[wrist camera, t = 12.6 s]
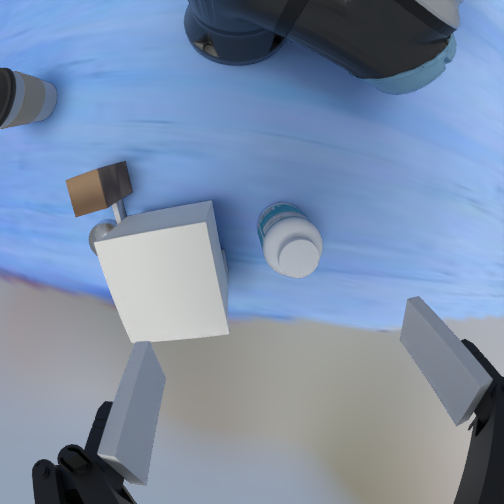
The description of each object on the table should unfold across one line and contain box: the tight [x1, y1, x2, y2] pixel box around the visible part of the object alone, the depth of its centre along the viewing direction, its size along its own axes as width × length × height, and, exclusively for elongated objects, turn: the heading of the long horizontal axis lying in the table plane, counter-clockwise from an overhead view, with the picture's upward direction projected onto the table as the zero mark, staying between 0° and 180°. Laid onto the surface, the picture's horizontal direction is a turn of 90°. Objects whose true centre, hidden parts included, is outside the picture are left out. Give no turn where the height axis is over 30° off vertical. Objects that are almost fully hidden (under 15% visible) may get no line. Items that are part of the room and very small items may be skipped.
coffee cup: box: [0, 68, 57, 129], centre depth 26 cm, size 9×9×15 cm
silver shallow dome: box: [89, 220, 117, 256], centre depth 42 cm, size 6×6×2 cm
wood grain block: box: [66, 161, 133, 225], centre depth 37 cm, size 14×5×10 cm, turn 10°
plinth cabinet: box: [94, 200, 230, 343], centre depth 37 cm, size 13×12×16 cm
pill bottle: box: [257, 202, 323, 278], centre depth 38 cm, size 8×7×14 cm
